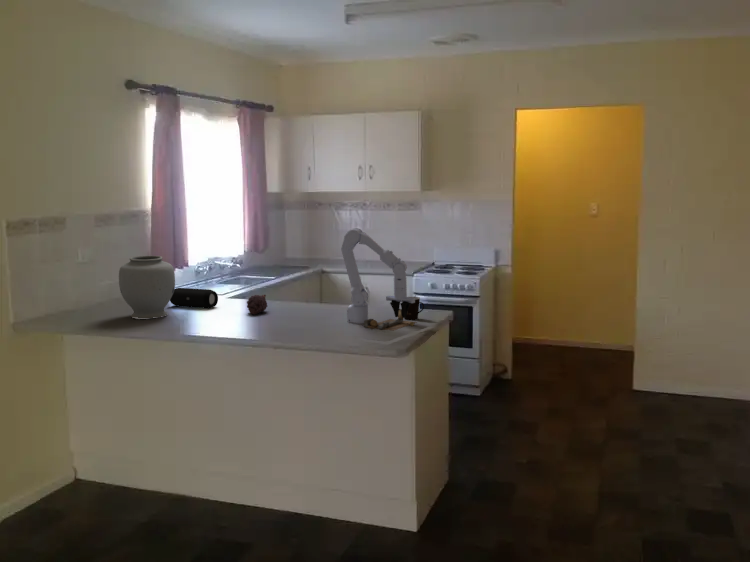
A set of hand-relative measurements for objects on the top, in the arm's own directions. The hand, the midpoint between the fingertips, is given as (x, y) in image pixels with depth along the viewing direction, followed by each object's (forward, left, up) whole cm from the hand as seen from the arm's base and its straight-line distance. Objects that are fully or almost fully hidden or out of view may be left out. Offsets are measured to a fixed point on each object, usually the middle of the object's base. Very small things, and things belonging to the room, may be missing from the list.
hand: (400, 317), depth 340 cm
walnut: (-5, -14, -2) cm, 15 cm away
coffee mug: (-2, +13, -4) cm, 14 cm away
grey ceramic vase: (-121, -45, -4) cm, 129 cm away
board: (0, -6, -4) cm, 7 cm away
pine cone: (-80, -11, -4) cm, 81 cm away
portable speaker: (-121, -16, -4) cm, 122 cm away
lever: (0, -8, -2) cm, 8 cm away
